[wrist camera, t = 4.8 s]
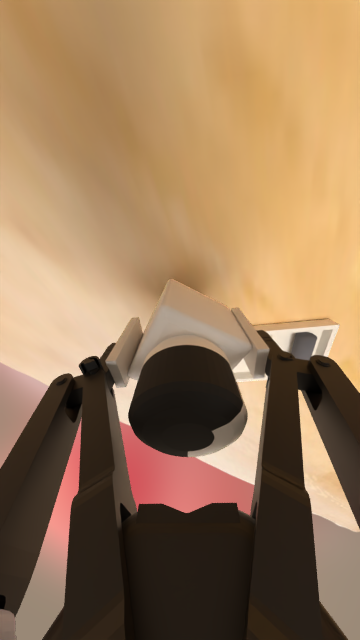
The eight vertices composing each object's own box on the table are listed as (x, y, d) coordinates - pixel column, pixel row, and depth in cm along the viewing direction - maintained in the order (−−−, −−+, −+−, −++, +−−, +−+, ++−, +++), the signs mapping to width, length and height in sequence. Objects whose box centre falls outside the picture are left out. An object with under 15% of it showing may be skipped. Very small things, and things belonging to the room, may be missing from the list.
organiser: (160, 334, 30) (158, 340, 28) (328, 318, 28) (339, 324, 26) (169, 378, 35) (168, 386, 33) (311, 368, 33) (320, 376, 31)
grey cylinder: (291, 334, 28) (309, 342, 26) (303, 329, 29) (321, 337, 27) (283, 368, 32) (298, 378, 29) (294, 363, 33) (309, 372, 30)
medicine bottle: (144, 330, 19) (95, 452, 8) (169, 276, 16) (142, 360, 5) (197, 352, 20) (211, 480, 10) (229, 306, 17) (302, 420, 7)
